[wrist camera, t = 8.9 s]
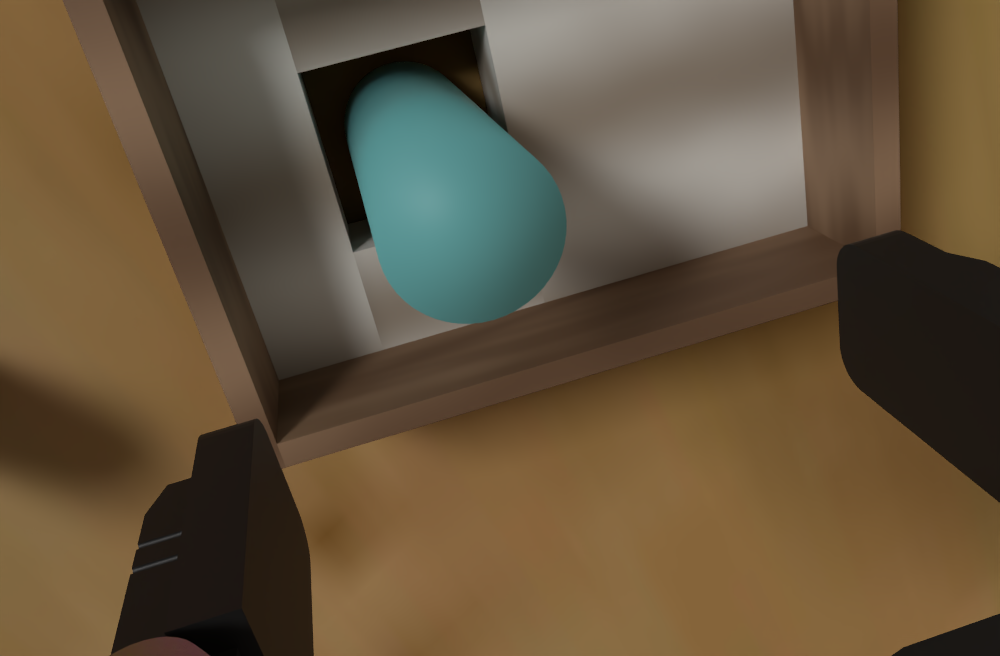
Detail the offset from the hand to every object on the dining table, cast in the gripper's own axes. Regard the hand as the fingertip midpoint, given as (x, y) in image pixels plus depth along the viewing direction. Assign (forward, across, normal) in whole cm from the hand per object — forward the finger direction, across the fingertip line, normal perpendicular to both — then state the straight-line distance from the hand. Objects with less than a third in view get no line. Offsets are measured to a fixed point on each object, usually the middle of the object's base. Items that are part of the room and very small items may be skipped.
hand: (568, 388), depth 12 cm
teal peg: (+19, 0, 0) cm, 19 cm away
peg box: (+19, -3, 0) cm, 19 cm away
